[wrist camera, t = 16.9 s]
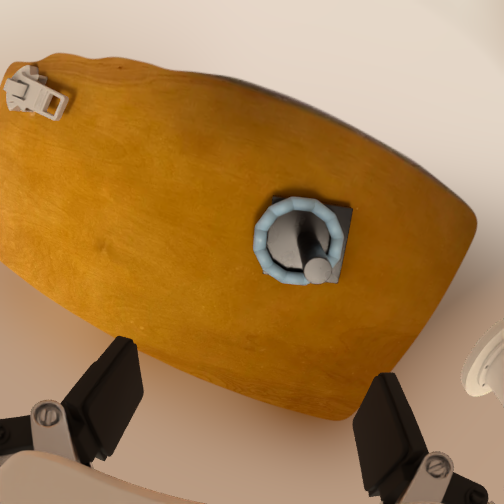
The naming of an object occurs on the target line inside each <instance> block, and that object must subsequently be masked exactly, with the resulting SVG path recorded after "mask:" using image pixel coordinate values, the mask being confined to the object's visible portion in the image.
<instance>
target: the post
mask: <svg viewBox="0 0 504 504" xmlns="http://www.w3.org/2000/svg"><path fill="white" fill-rule="evenodd" d="M287 198H289V197H283V196H276V195H273V198H272V205H273V204H275V203H278V202H280V201H282V200H284V199H287ZM321 203H322V204H323V205H325V206H326V207H327V208H329V209H330V210H331V211H332V212H334V213H335V214H336V216H337V219H338V221H339V224H340V226H341V229H342V232H343V234H344V240H343V246H342V252H341V257H340V260H339V261H338V262H337V263H336V265H335V266H334V267H333V268H332V266H331V263H330V261H329V259H328V257H327V255H328V254H329V248H330V242H331V236H330V233H329V231H328V228H327V226H326V223H325V222H324V221H323V220H322V219H320V218H319V217H318V216H316V215H315V214H314V213H312V212H309V211H300V210H292V211H290V212H288V213H285V214H283V215H281V216H279V217H277V219H276V220H275V221H274V223H273V224H272V225H271V227H270V228H269V230H268V237H267V244H266V248H267V250H268V252H269V255H270V257H271V259H272V261H273V262H274V263H275V264H277V265H278V266H280V267H281V268H283V269H284V270H286V271H291V272H301V273H304V276H305V278H306V280H307V281H309V282H310V283H313V284H322V283H324V282H330V283H338V280H339V276H340V271H341V267H342V262H343V258H344V253H345V248H346V243H347V238H348V233H349V228H350V223H351V217H352V212H353V208H351V207H347V206H342V205H336V204H330V203H323V202H321ZM263 274H268V273H266V272H265V271H264V270H263ZM268 275H269V274H268Z"/></svg>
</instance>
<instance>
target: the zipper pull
mask: <svg viewBox="0 0 504 504" xmlns="http://www.w3.org/2000/svg"><path fill="white" fill-rule="evenodd" d="M47 79H48V78H47V77H46V76H42V75H38V68H37V67H34V66H30V65H26V66H24V67H22V68H21V69H19V70H18V71H17V72H16V73H15V74H14V76H13V77H12V78H8V79H7V81H6V84H5V86H4V89H3V90H5V91H6V92H7V95H6V100H7V106H8V108H9V110H11V111H21V110H22V111H23V112H34V111H35V112H37V113H39V114H41V115H43V116H45V117H47V118H50V119H52V120H55V121H59V120H60V119H61V117H62V114H63V112H64V110H65V107H66V105H67V103H68V100H69V98H68V97H67V96H65V95H63V94H61V93H59V92H57V91H55V90H53V89H51V88H49V87H47V86H45V84H46V81H47ZM53 95H54V96H56V97H58V98H60V99H61V101H60V103H59V105H58V108H57V110H56V112H55V115H53V114H50V113H48V112H47V109H48V106H49V104H50V101H51V99H52V97H53Z"/></svg>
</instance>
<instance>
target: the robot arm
mask: <svg viewBox="0 0 504 504" xmlns="http://www.w3.org/2000/svg"><path fill="white" fill-rule="evenodd" d="M477 381H478V384H479V386H480V387H481V388H483V389H489V388H491V389H492V391H493V392H494V394H495V395H496V396H497V398H498V399H499V401H500V402H501V404H502V405H503V407H504V340H503V341H501V342H500V343H499V344H498V345H497V346H496V347H495V348H494V349H493V350H492V351H491V352H490V353H489V355H488V356H487V358H486V359H485V360H484V362H483V364H482V366H481V368H480V370H479V373H478V377H477ZM143 393H144V391H143V384H142V378H141V372H140V366H139V358H138V351H137V345H136V344H134V343H133V340H132V339H129V338H126V337H122V336H117V337H116V338H115V340H114V341H113V342H112V343H111V344H110V346H109V347H108V348H107V349H106V350H105V352H104V353H103V354H102V355H101V356H100V358H99V359H98V360H97V361H96V362H94V363H93V364H92V365H91V366H90V367H89V368H88V370H87V371H86V372H85V374H83V376H82V377H81V378H80V379H79V381H78V382H77V383H76V384H75V386H74V387H73V388H72V389H71V391H70V392H69V393H68V395H67V396H66V397H65V398H64V400H63V401H62V402H61V403H58V402H57V401H53V400H43V401H40V402H38V403H37V404H35V405H34V407H33V408H32V410H31V415H27V416H21V417H14V418H7V419H0V504H205V503H200V502H195V501H190V500H186V499H181V498H178V497H174V496H170V495H166V494H162V493H159V492H156V491H152V490H149V489H146V488H143V487H140V486H137V485H134V484H131V483H128V482H126V481H123V480H120V479H117V478H115V477H112V476H110V475H107V474H104V473H102V472H100V471H97V470H95V469H94V468H93V465H92V462H93V460H94V458H95V457H96V458H98V459H100V460H103V461H105V460H106V458H107V456H111V455H112V454H113V452H114V450H115V448H116V447H117V444H118V443H119V441H120V439H121V437H122V435H123V433H124V431H125V429H126V427H127V426H128V424H129V422H130V420H131V418H132V416H133V414H134V412H135V410H136V408H137V406H138V405H139V403H140V401H141V399H142V397H143ZM353 431H354V435H355V441H356V446H357V451H358V456H359V461H360V467H361V472H362V478H363V483H364V489H365V490H366V491H368V492H369V497H373V496H380V497H381V502H380V504H495V503H494V502H492V501H491V502H490V503H489V502H488V493H487V490H486V489H485V488H484V487H483V486H482V485H480V484H478V483H475V482H473V481H471V480H469V479H467V478H465V477H462V476H460V475H458V474H456V473H454V472H453V470H454V465H453V462H452V460H451V458H450V457H449V456H448V455H446V454H445V453H442V452H432V453H429V452H428V450H427V447H426V444H425V442H424V439H423V436H422V434H421V431H420V429H419V426H418V424H417V421H416V419H415V417H414V414H413V412H412V410H411V407H410V406H409V404H408V401H407V399H406V397H405V395H404V392H403V390H402V388H401V386H400V383H399V381H398V379H397V377H396V375H395V373H380V374H379V375H378V376H375V378H374V379H373V381H372V384H371V386H370V388H369V390H368V392H367V394H366V396H365V398H364V400H363V402H362V404H361V406H360V408H359V410H358V411H357V413H356V415H355V417H354V419H353Z"/></svg>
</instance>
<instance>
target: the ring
mask: <svg viewBox="0 0 504 504" xmlns="http://www.w3.org/2000/svg"><path fill="white" fill-rule="evenodd" d="M292 210H300V211H309V212H312V213H314V214H315V215H316V216H318V217H319V218H320V219H322V220H323V221H324V222H325V223H326V226H327V228H328V231H329V233H330V236H331V242H330V248H329V254H328V255H327V257H328V259H329V261H330V263H331V266H332V268H333V267H334V266H335V265H336V263H337V262H338V261H339V260H340V257H341V252H342V246H343V240H344V234H343V232H342V229H341V226H340V224H339V221H338V219H337V216H336V214H335V213H334V212H332V211H331V210H330V209H329V208H327V207H326V206H325V205H323V204H322V203H321V202H319V201H318V200H317V199H311V198H303V197H294V196H292V197H289V198H287V199H284V200H282V201H280V202H278V203H275V204H273V205H271V206H269V207H268V209H267V210H266V211H265V213H264V214H263V215H262V217H261V218H260V220H259V221H258V222H257V224H256V225H255V231H254V243H253V251H254V253H255V255H256V257H257V259H258V261H259V263H260V265H261V267H262V269H263V270H264V271H265V272H266V273H268V274H269V275H271V276H272V277H274V278H275V279H277V280H278V281H280V282H281V283H286V284H296V285H306V284H309V283H310V282H309V281H307V280H306V278H305V276H304V273H301V272H291V271H286V270H284V269H283V268H281V267H280V266H278V265H277V264H275V263H274V262H273V261H272V259H271V257H270V255H269V252H268V250H267V248H266V242H267V232H268V230H269V228H270V227H271V225H272V224H273V223H274V221H275V220H276V219H277V217H279V216H281V215H283V214H285V213H288V212H290V211H292Z"/></svg>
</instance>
